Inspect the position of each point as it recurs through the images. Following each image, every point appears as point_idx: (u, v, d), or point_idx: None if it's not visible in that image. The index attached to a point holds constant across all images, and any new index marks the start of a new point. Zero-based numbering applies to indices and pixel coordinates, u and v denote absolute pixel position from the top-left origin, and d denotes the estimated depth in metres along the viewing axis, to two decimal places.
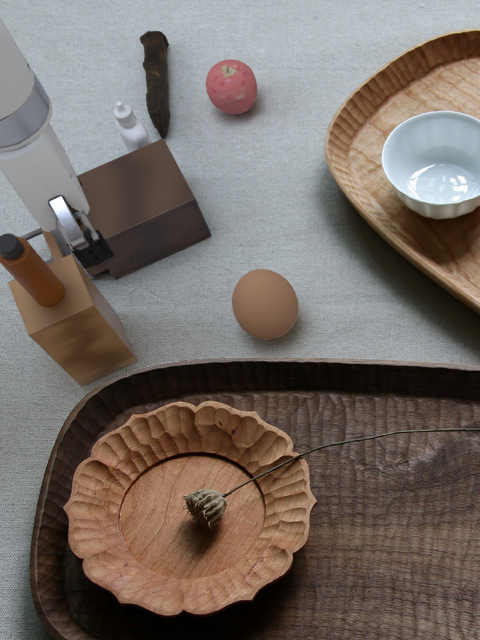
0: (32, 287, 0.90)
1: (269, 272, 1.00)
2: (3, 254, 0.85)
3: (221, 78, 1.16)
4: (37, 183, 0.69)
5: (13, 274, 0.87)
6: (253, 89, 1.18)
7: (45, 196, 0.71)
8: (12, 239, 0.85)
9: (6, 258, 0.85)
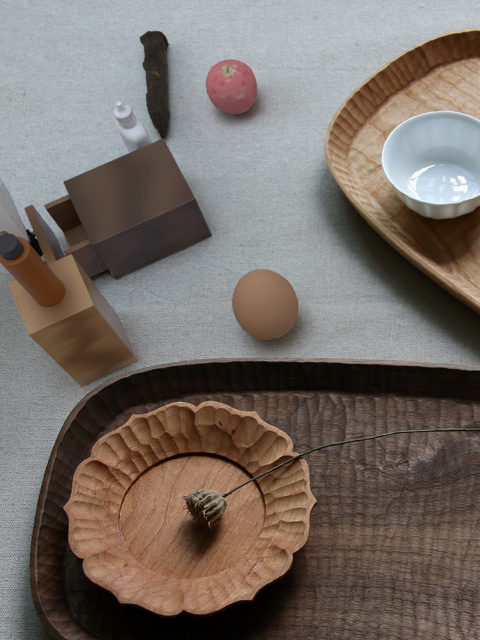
0: (32, 287, 0.90)
1: (269, 272, 1.00)
2: (3, 254, 0.85)
3: (221, 78, 1.16)
4: None
5: (13, 274, 0.87)
6: (253, 89, 1.18)
7: None
8: (12, 239, 0.85)
9: (6, 258, 0.85)
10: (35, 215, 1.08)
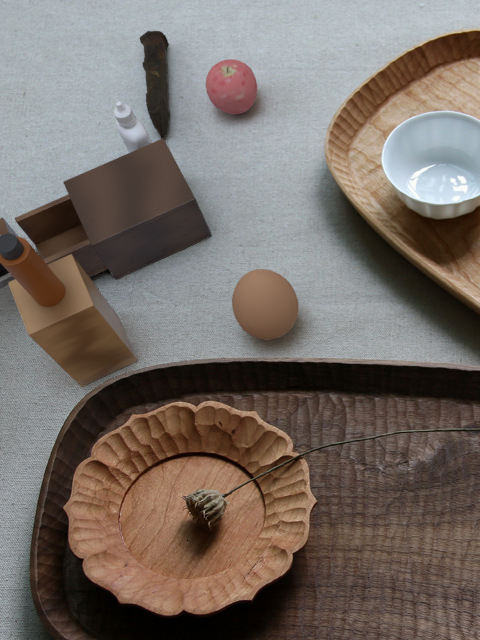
0: (32, 287, 0.90)
1: (269, 272, 1.00)
2: (3, 254, 0.85)
3: (221, 78, 1.16)
4: None
5: (13, 274, 0.87)
6: (253, 89, 1.18)
7: None
8: (12, 239, 0.85)
9: (6, 258, 0.85)
10: (5, 228, 1.07)
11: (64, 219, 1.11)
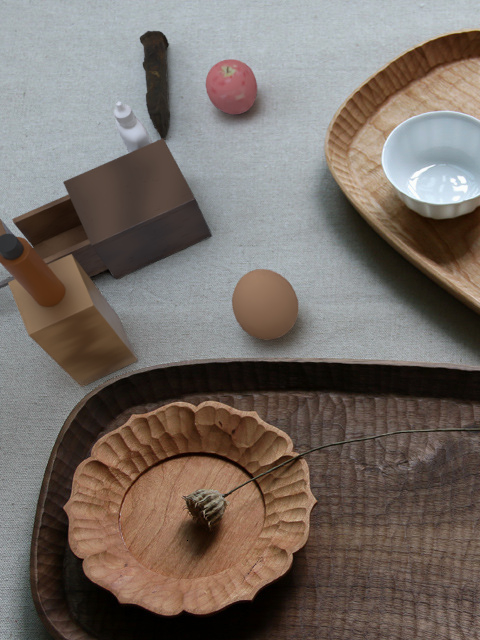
0: (32, 287, 0.90)
1: (269, 272, 1.00)
2: (3, 254, 0.85)
3: (221, 78, 1.16)
4: None
5: (13, 274, 0.87)
6: (253, 89, 1.18)
7: None
8: (12, 239, 0.85)
9: (6, 258, 0.85)
10: (3, 229, 1.07)
11: (61, 220, 1.11)
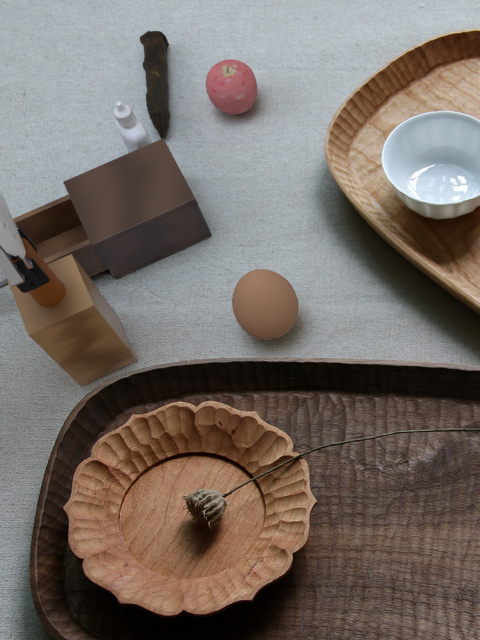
0: None
1: (269, 272, 1.00)
2: None
3: (221, 78, 1.16)
4: None
5: None
6: (253, 89, 1.18)
7: None
8: None
9: None
10: None
11: (61, 220, 1.11)
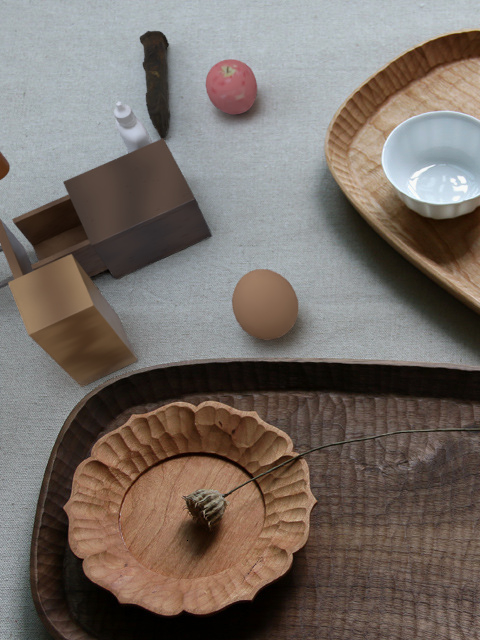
0: None
1: (269, 272, 1.00)
2: None
3: (221, 78, 1.16)
4: None
5: None
6: (253, 89, 1.18)
7: None
8: None
9: None
10: (3, 229, 1.07)
11: (61, 220, 1.11)
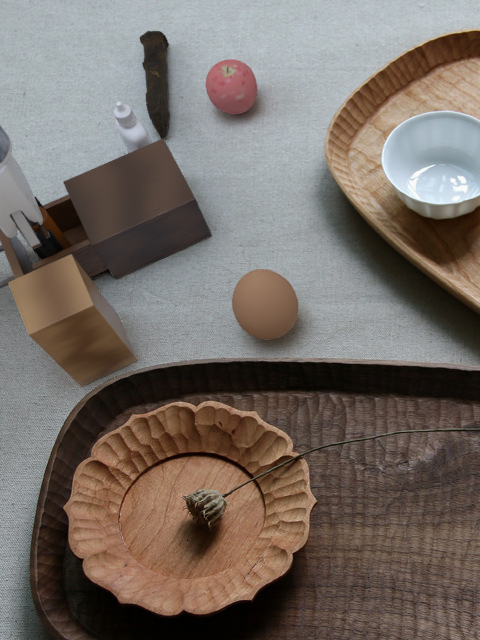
0: None
1: (269, 272, 1.00)
2: None
3: (221, 78, 1.16)
4: (1, 202, 0.93)
5: None
6: (253, 89, 1.18)
7: (7, 211, 0.94)
8: None
9: None
10: None
11: (62, 220, 1.11)
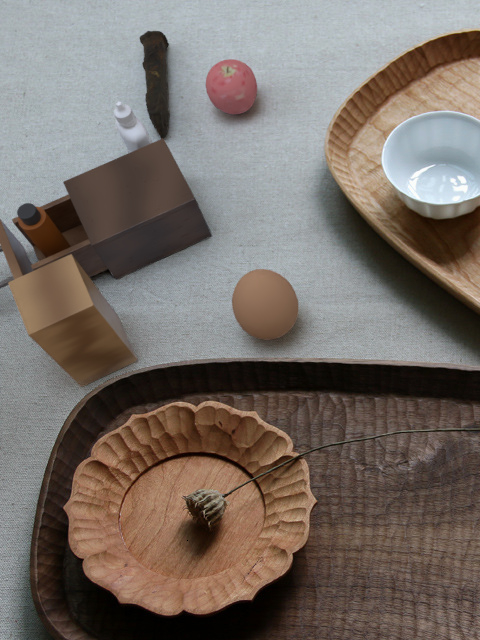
0: (47, 250, 1.07)
1: (269, 272, 1.00)
2: (24, 220, 1.02)
3: (221, 78, 1.16)
4: None
5: (32, 238, 1.05)
6: (253, 89, 1.18)
7: None
8: (31, 208, 1.02)
9: (26, 223, 1.03)
10: (3, 229, 1.07)
11: (61, 220, 1.11)
